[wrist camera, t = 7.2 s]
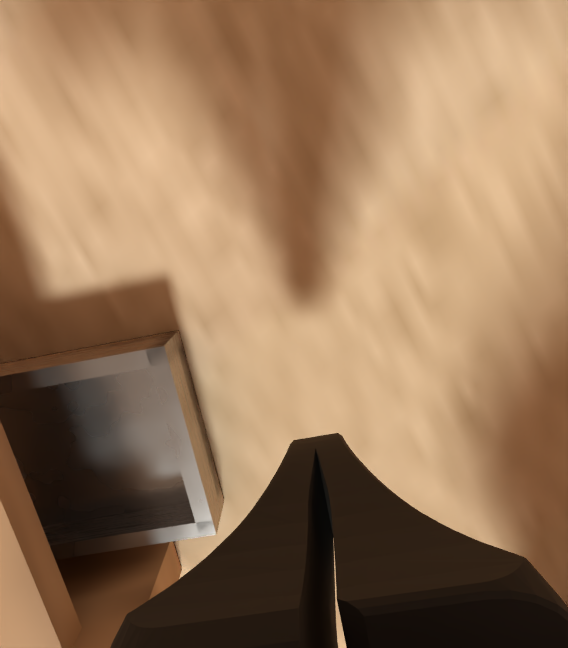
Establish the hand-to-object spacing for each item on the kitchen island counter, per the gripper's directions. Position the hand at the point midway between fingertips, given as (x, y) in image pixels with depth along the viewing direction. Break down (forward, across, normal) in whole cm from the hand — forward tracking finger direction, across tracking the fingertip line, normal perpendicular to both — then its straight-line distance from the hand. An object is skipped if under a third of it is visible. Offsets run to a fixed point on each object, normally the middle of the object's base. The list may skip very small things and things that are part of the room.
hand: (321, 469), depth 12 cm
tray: (+4, +9, 0) cm, 10 cm away
